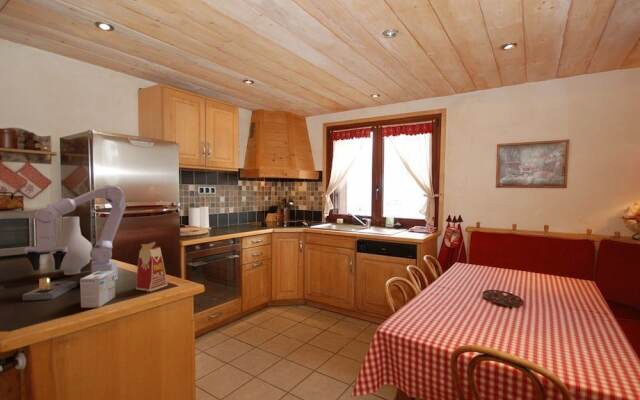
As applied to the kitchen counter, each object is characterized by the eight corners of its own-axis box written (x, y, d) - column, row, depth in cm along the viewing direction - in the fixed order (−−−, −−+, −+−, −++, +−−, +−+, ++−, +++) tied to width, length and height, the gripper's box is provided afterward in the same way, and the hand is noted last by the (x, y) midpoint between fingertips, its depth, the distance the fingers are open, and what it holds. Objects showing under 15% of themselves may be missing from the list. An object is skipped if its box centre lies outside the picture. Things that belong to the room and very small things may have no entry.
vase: (42, 275, 154) (41, 217, 153) (79, 267, 169) (78, 215, 168) (64, 279, 148) (62, 219, 147) (100, 270, 163) (99, 216, 162)
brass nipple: (52, 294, 128) (51, 277, 127) (47, 297, 125) (47, 279, 124) (42, 295, 127) (41, 277, 126) (37, 297, 124) (37, 280, 123)
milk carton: (167, 285, 141) (167, 240, 140) (150, 291, 132) (149, 244, 131) (151, 283, 144) (151, 239, 143) (133, 289, 135) (132, 242, 134)
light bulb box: (98, 297, 125) (97, 270, 124) (116, 297, 125) (115, 270, 125) (79, 308, 114) (79, 278, 114) (99, 307, 115) (99, 278, 114)
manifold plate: (76, 286, 138) (76, 281, 138) (52, 299, 122) (52, 293, 122) (50, 287, 137) (50, 282, 136) (22, 300, 121) (22, 294, 121)
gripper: (18, 238, 125) (19, 273, 125) (60, 237, 127) (61, 271, 128) (30, 236, 132) (32, 268, 132) (70, 235, 134) (71, 267, 135)
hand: (47, 269), depth 131 cm, fingers open, 7 cm apart
